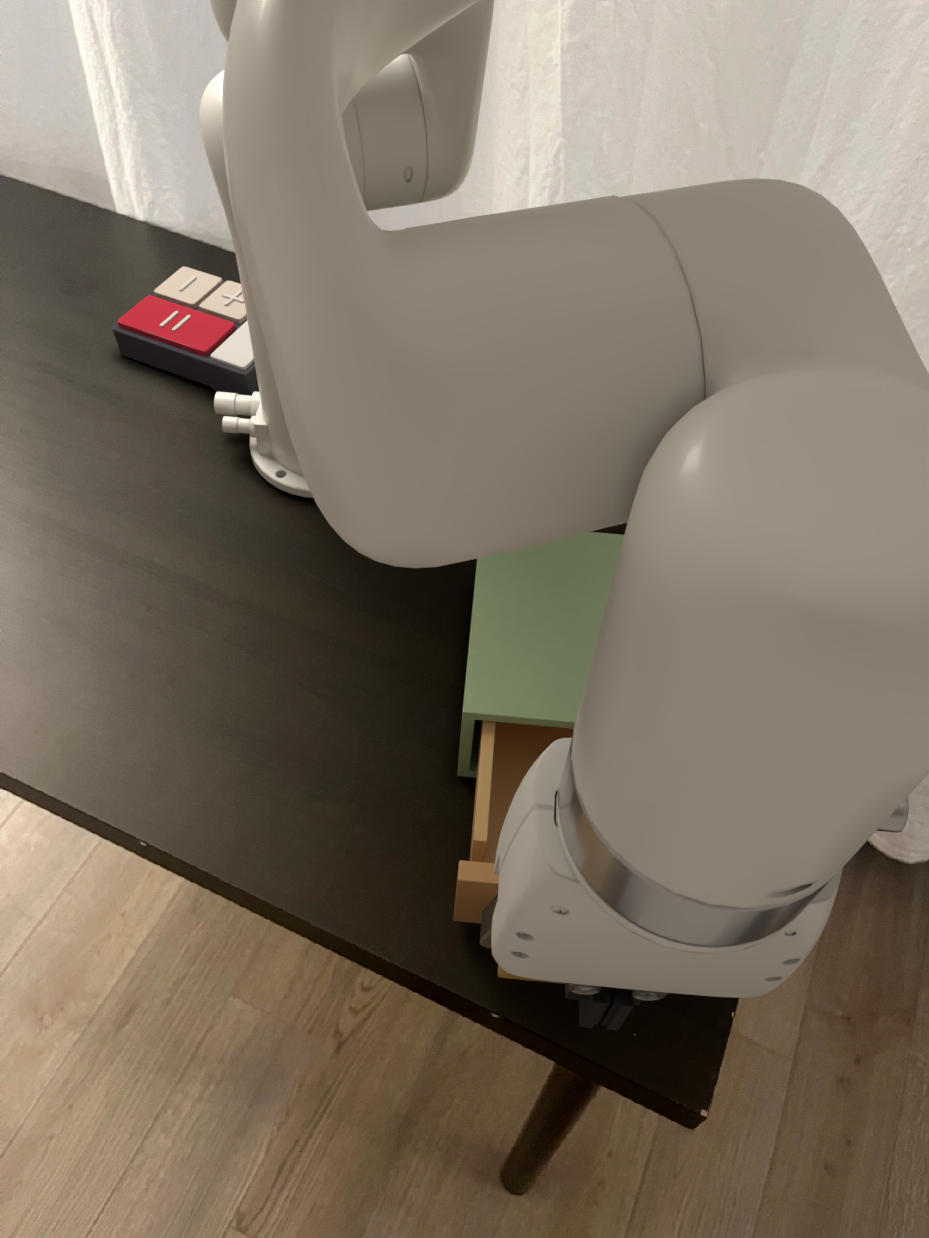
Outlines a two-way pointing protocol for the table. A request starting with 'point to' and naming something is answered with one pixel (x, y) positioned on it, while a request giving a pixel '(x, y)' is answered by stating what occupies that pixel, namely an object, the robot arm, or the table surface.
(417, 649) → the table surface
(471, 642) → the cabinet
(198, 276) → the calculator
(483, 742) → the drawer
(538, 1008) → the table surface
